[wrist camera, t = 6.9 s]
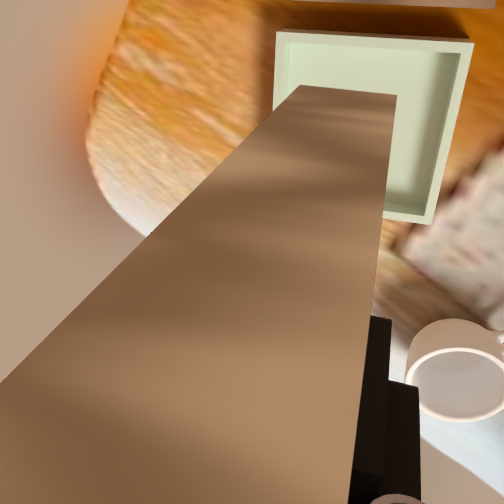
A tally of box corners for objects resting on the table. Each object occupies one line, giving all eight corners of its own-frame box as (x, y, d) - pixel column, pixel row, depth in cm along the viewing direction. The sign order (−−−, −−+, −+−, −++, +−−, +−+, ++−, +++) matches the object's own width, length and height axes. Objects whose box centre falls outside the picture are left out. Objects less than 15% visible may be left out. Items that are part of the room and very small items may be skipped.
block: (397, 94, 15) (307, 827, 2) (352, 327, 19) (239, 989, 7) (299, 84, 15) (-216, 598, 3) (278, 311, 20) (51, 888, 7)
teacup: (437, 388, 44) (440, 434, 40) (387, 329, 43) (384, 371, 38) (548, 345, 39) (566, 392, 35) (495, 277, 38) (507, 317, 33)
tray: (470, 38, 30) (474, 43, 28) (430, 211, 36) (431, 225, 34) (284, 28, 33) (276, 31, 31) (275, 190, 39) (268, 202, 37)
